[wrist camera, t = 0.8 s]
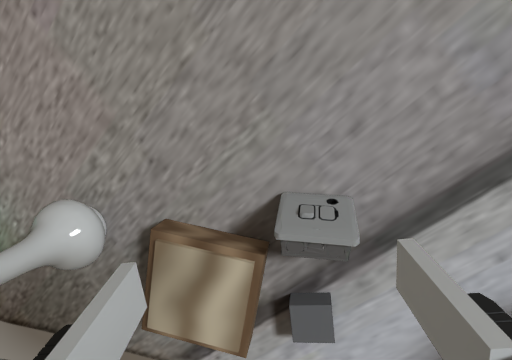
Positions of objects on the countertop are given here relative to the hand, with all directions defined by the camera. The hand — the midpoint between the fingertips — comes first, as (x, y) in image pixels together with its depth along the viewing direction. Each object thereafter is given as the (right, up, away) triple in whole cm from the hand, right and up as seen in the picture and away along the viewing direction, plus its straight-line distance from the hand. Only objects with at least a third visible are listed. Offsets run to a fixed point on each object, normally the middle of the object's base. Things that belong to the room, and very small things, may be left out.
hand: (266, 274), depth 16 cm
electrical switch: (+7, +1, +22) cm, 23 cm away
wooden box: (-7, -8, +26) cm, 29 cm away
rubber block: (+7, -12, +25) cm, 29 cm away
